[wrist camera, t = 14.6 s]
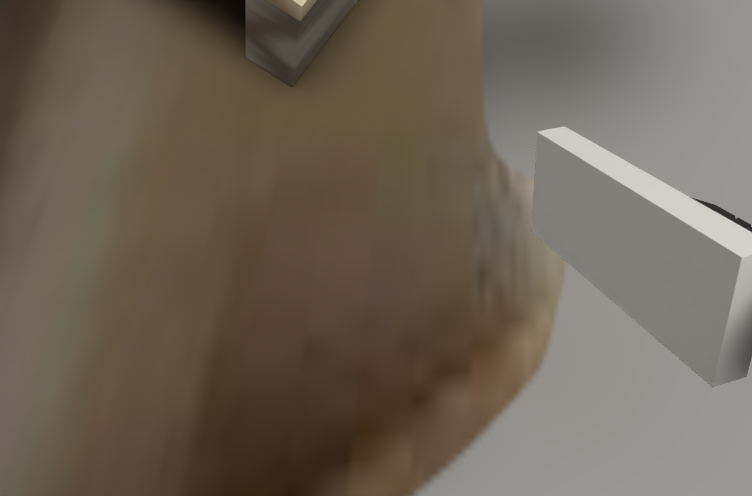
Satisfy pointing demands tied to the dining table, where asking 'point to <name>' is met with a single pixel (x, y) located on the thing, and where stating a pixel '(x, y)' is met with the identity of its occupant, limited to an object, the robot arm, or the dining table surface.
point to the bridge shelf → (291, 33)
